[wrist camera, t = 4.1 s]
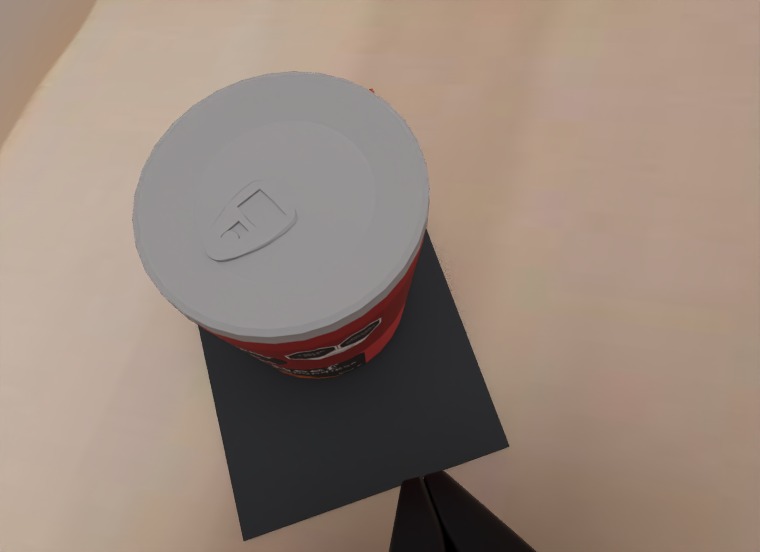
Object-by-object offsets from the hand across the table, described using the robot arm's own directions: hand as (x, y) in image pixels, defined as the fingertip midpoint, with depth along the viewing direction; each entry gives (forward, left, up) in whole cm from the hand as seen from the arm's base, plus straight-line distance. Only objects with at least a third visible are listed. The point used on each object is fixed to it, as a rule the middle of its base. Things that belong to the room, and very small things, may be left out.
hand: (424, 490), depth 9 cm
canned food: (+7, +3, -12) cm, 15 cm away
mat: (+5, +2, -12) cm, 14 cm away
